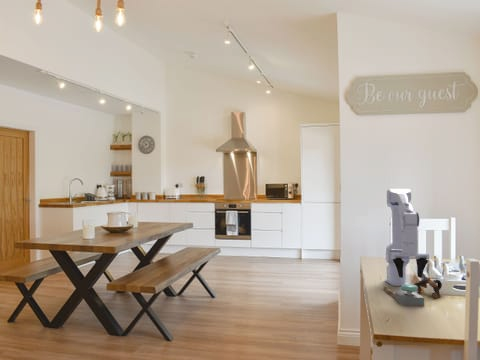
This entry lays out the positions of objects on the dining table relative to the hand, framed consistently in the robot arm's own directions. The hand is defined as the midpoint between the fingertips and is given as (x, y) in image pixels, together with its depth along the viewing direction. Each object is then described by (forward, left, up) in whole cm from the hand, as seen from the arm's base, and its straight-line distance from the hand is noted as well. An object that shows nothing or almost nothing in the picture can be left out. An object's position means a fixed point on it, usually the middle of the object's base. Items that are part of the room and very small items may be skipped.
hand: (410, 277), depth 161 cm
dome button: (0, 0, -8) cm, 8 cm away
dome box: (0, 0, -10) cm, 10 cm away
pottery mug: (-9, +13, -10) cm, 19 cm away
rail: (-10, -3, -10) cm, 14 cm away
